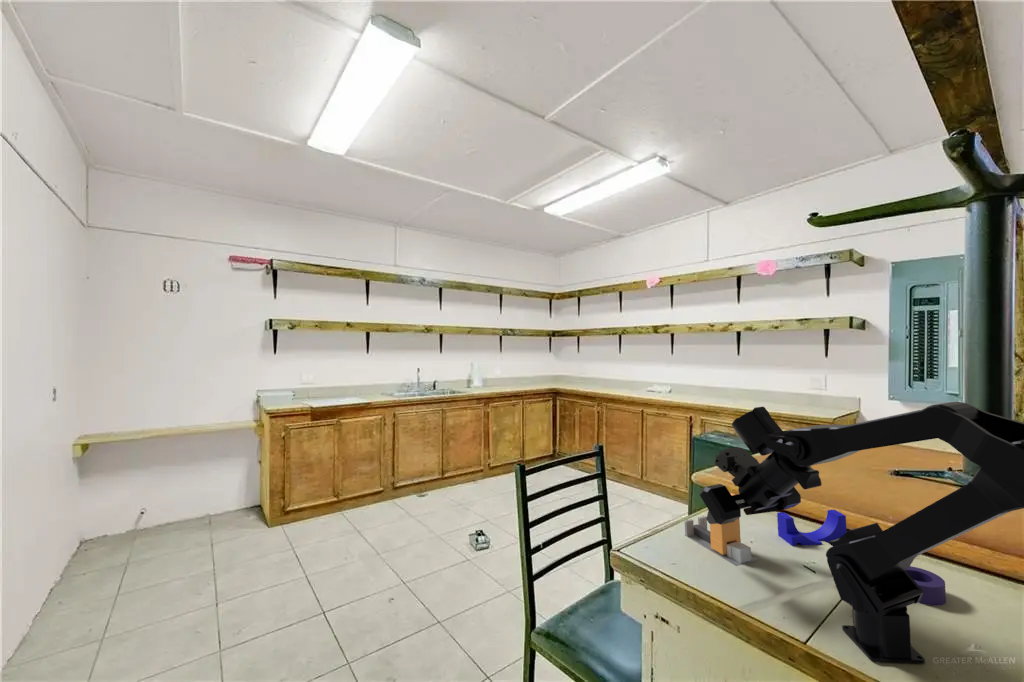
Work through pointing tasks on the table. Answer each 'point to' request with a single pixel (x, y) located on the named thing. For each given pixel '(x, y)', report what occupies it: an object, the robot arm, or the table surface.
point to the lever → (929, 586)
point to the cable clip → (827, 532)
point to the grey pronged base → (701, 535)
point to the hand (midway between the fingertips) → (727, 516)
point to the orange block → (724, 535)
